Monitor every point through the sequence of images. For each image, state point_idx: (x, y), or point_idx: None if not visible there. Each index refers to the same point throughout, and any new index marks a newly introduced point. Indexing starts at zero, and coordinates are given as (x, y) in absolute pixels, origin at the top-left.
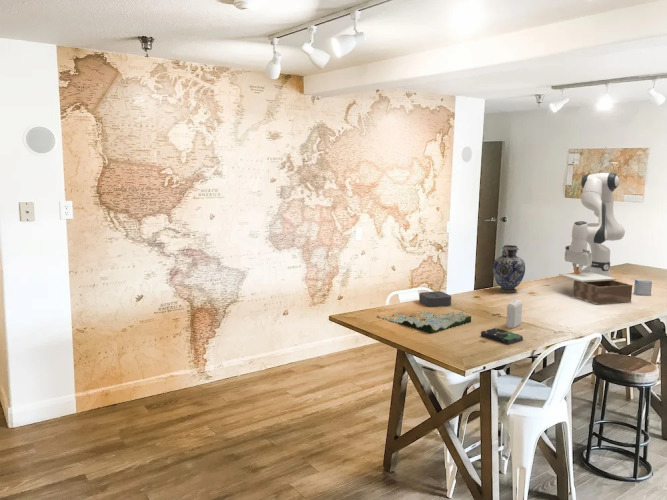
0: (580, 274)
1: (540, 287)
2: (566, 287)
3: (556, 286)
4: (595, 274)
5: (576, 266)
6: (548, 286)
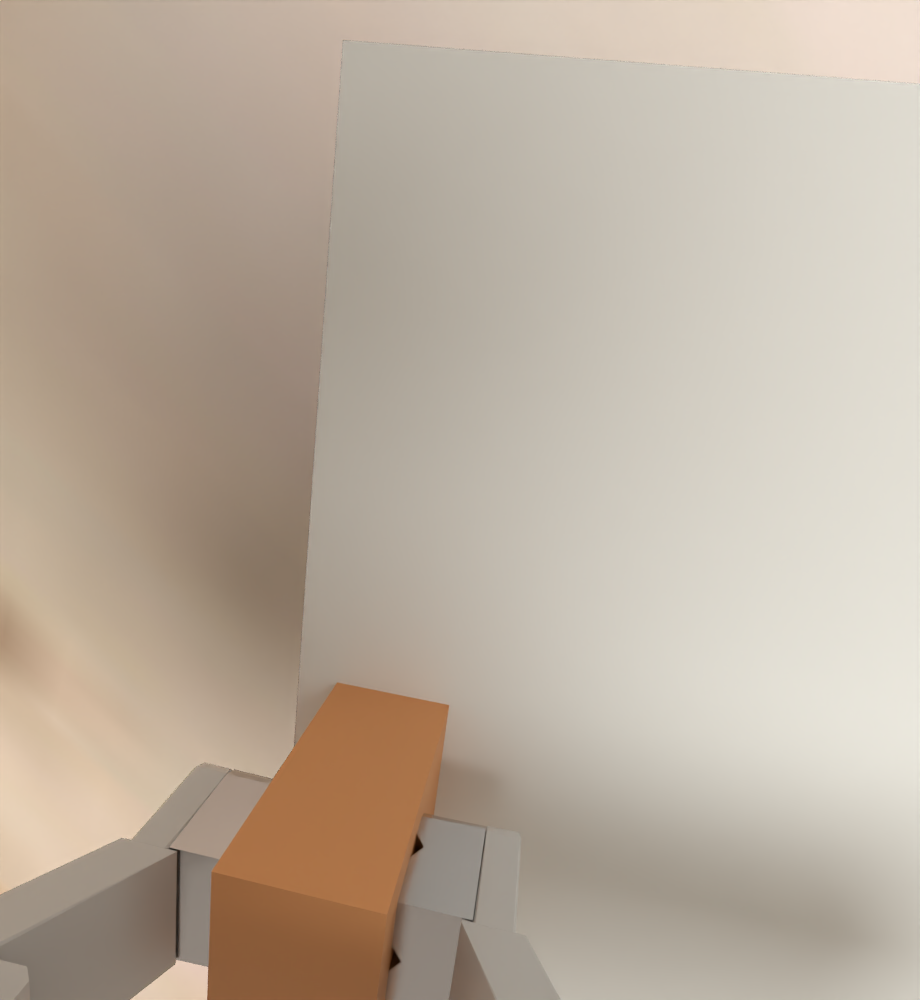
0: (560, 813)
1: (101, 810)
2: (193, 479)
3: (95, 565)
4: (839, 306)
5: (122, 880)
6: (70, 670)
